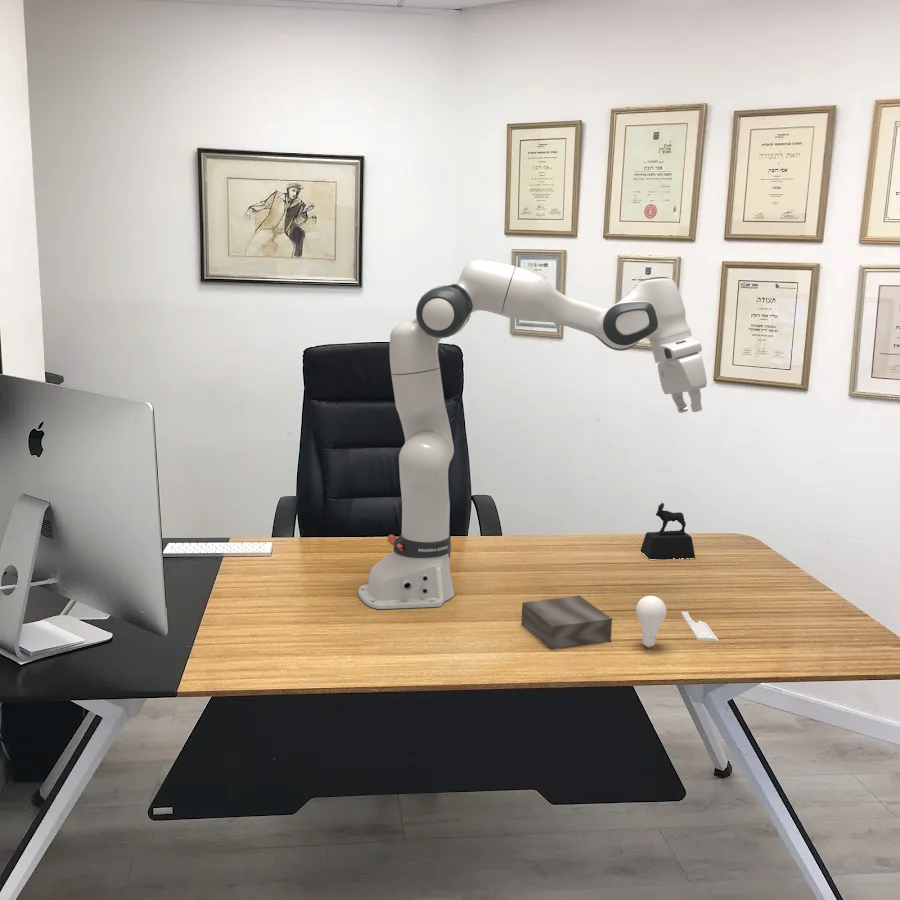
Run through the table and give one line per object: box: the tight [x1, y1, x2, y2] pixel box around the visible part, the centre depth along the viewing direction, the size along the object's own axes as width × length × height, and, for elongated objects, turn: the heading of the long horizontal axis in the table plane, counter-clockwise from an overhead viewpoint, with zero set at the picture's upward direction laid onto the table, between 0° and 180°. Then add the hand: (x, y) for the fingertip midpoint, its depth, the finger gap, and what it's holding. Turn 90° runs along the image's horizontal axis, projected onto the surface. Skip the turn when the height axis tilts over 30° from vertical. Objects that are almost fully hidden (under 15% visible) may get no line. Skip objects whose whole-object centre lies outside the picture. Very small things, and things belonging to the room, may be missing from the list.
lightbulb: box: [635, 595, 667, 648], centre depth 192 cm, size 6×6×11 cm
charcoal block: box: [521, 595, 613, 650], centre depth 198 cm, size 14×14×5 cm
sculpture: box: [639, 502, 696, 560], centre depth 252 cm, size 8×13×15 cm, turn 97°
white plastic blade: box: [680, 611, 720, 642], centre depth 204 cm, size 5×15×1 cm, turn 179°
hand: (690, 411), depth 201 cm, fingers open, 8 cm apart
